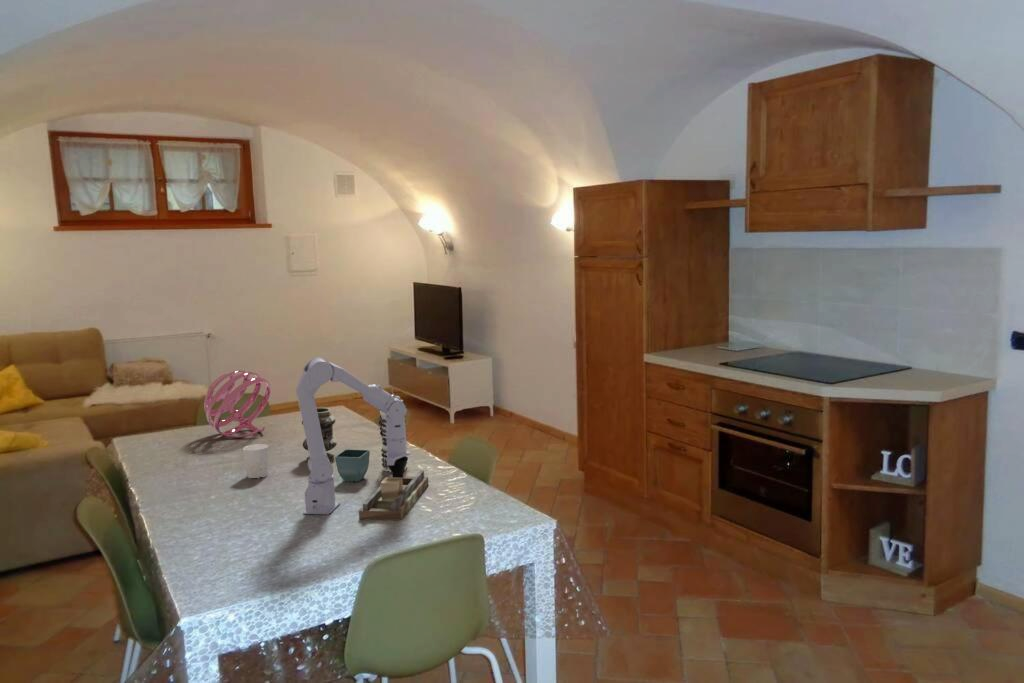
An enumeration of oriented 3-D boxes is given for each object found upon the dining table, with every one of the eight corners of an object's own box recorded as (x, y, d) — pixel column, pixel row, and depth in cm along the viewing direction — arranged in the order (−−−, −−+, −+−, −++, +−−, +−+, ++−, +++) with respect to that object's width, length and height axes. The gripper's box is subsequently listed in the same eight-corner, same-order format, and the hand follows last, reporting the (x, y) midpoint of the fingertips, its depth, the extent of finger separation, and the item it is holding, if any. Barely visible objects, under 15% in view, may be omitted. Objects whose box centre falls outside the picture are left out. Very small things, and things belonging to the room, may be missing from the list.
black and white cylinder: (412, 464, 268) (409, 394, 265) (401, 472, 259) (397, 399, 256) (388, 463, 271) (384, 393, 267) (376, 471, 262) (372, 399, 258)
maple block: (398, 499, 225) (397, 482, 224) (381, 499, 226) (380, 482, 225) (403, 493, 230) (402, 477, 229) (386, 493, 230) (385, 477, 230)
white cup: (240, 477, 260) (237, 448, 259) (258, 471, 267) (255, 443, 265) (257, 480, 256) (255, 451, 255) (274, 473, 263) (272, 445, 262)
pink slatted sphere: (296, 386, 318) (249, 348, 324) (242, 415, 296) (194, 374, 302) (283, 431, 334) (239, 394, 340) (232, 463, 312) (186, 423, 318)
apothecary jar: (340, 460, 277) (337, 411, 274) (305, 465, 272) (302, 415, 270) (335, 452, 288) (332, 404, 286) (301, 456, 284) (298, 408, 281)
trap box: (400, 520, 215) (399, 504, 214) (359, 519, 217) (358, 503, 216) (428, 484, 246) (427, 470, 245) (391, 483, 248) (391, 470, 247)
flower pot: (361, 484, 248) (359, 457, 247) (335, 483, 250) (334, 456, 249) (371, 476, 257) (370, 449, 256) (347, 475, 259) (345, 449, 258)
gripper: (402, 444, 225) (404, 489, 227) (415, 432, 239) (417, 474, 241) (379, 444, 226) (381, 489, 228) (393, 432, 240) (395, 474, 242)
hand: (398, 481), depth 234 cm, fingers closed
